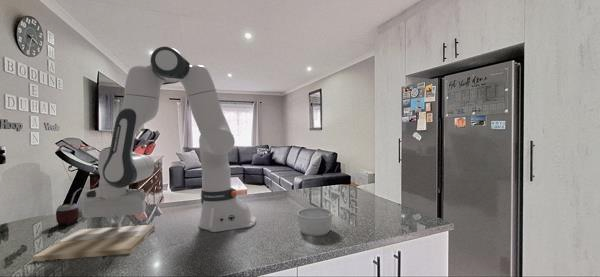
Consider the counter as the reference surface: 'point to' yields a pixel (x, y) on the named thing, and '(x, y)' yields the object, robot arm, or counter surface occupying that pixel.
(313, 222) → the ramekin
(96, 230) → the whitewashed plank
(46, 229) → the counter surface
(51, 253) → the laid oak row
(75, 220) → the mate gourd
